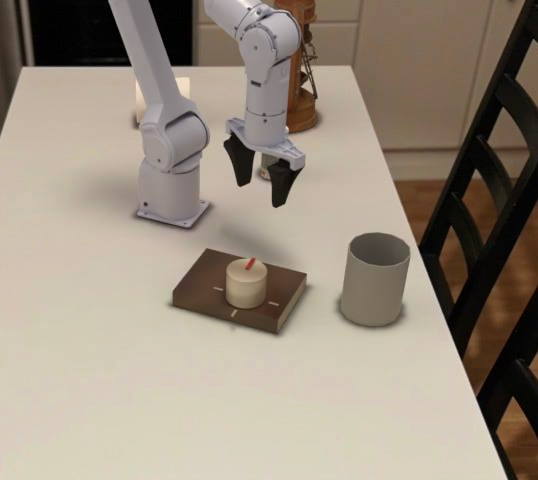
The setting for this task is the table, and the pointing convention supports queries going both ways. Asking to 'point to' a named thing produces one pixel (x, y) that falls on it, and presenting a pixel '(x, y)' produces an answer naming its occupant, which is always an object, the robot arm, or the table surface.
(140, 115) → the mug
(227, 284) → the rotary knob
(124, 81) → the table surface
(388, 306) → the cup
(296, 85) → the lantern
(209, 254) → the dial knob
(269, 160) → the pill bottle
